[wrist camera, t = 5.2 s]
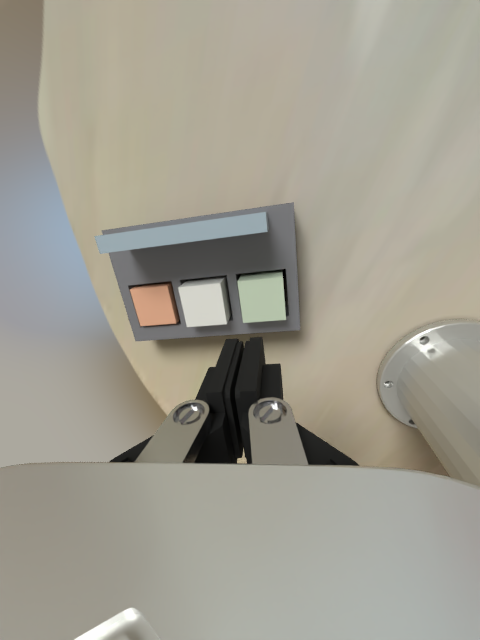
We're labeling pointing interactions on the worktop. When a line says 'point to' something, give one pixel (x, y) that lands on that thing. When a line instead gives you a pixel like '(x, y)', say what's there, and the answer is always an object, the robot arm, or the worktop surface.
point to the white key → (206, 301)
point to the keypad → (206, 263)
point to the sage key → (262, 296)
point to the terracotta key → (155, 303)
